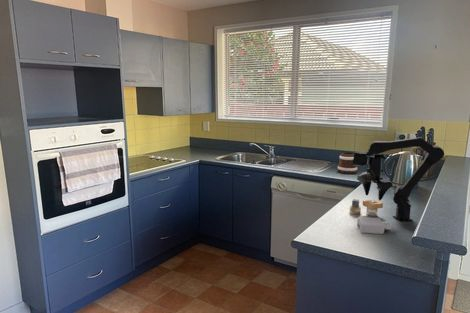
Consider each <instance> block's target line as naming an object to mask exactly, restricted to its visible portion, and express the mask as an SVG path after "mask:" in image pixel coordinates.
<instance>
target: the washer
mask: <svg viewBox="0 0 470 313" xmlns="http://www.w3.org/2000/svg"><path fill="white" fill-rule="evenodd" d="M370 200H371V199H366V200H362V206H363V207H366V209H367V208H370V209H378V210H379V209H383V207H384V206H383V205H384V203H383V202H381V201H380V200H376V199H375V198H374V199H372V200H375V201H376V203H370V202H369V201H370Z"/></svg>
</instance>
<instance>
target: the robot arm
mask: <svg viewBox="0 0 470 313" xmlns="http://www.w3.org/2000/svg"><path fill="white" fill-rule="evenodd" d="M414 147H418V148H420V149H422V150H423V151H424V152H426V154H425V156H424V159H422V162H421V163H420V164H419V166H418V167H417V168H416V169H415V171H413V172H412V174H411V175H410V177H408V179H407V181H406V182H405V183H404V184H402V186H400V185H397V186H396V188H395V190H393V191H392V192H393V194H392V200H393V203H395V204H396V208H395V215H393V216H392V218H394V219H395V220H397V221H399V222H412V221H414V220H413V219H412V218H411V207H412V204H411V201H410V199H409V197H410V195H411V193H412V191H413V189H414V188H415V187H416V185H418V184H419V182H420V181H421V179H422V178H423V177H424V176H425V174H427V172H428V171H429V170H430V169H431V167H433V166H434V165H435V164H437V163H438V162H439V161H440V160H443V158H444V156H445V150H443V148H442V147H440V146H439V145H434V144H431V142H429V141H427V140H425V139H424V137H421V136H418V137H413V138H405V139H400V140H399V139H397V140H392V141H390V140H389V141H388V140H374V141H373V142H371V144H370V146H369V148H368V150H366V152H359V151H354V152H353V153H354V159H353V165H354V166H357V167H366V165H368V168H366V171H364V172H362V173H360V174H358V175H357V181H358V182H359V183H360V184H361V185H362V186H363V189H364V190H363V191H364V193H365V196H369V193H370V189H371V187H372V186H371V185H372V183H374V184H376V189H377V190H378V193H377V194H378V195H377V196H378V197H377V198H378V201H381V200H382V199H383V198H384V196H385V195H386V193H387V192H388V191H389V189H391V188H393V185H394V184H393V181H391V180H387V179H383V178H384V177H382V172H384V169H383V168H382V165H383V164H382V163H383V159H384V160H385V159H387V156H386V155H385V152H388V151H392V150H398V149H400V150H401V149H405V148H406V149H407V148H414ZM368 162H369V163H368Z"/></svg>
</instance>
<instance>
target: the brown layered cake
mask: <svg viewBox="0 0 470 313" xmlns="http://www.w3.org/2000/svg"><path fill="white" fill-rule="evenodd" d="M353 159H354V152H341V153H340V155H339V162H338V165H337V172H338V173H340V174H344V175H345V174H346V175H352V174H354V175H355V174H357V173H358V166H354V165H353Z"/></svg>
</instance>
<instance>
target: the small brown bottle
mask: <svg viewBox="0 0 470 313" xmlns="http://www.w3.org/2000/svg"><path fill="white" fill-rule="evenodd" d="M351 202H352V203H351V204H350V206H349V214H351V215H354V214H355V215H354V216H357V215H358V216H359V215H361V213H362V212H361V209H362V207H361V206H360V199H355V198H353V199H352V200H351Z"/></svg>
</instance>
